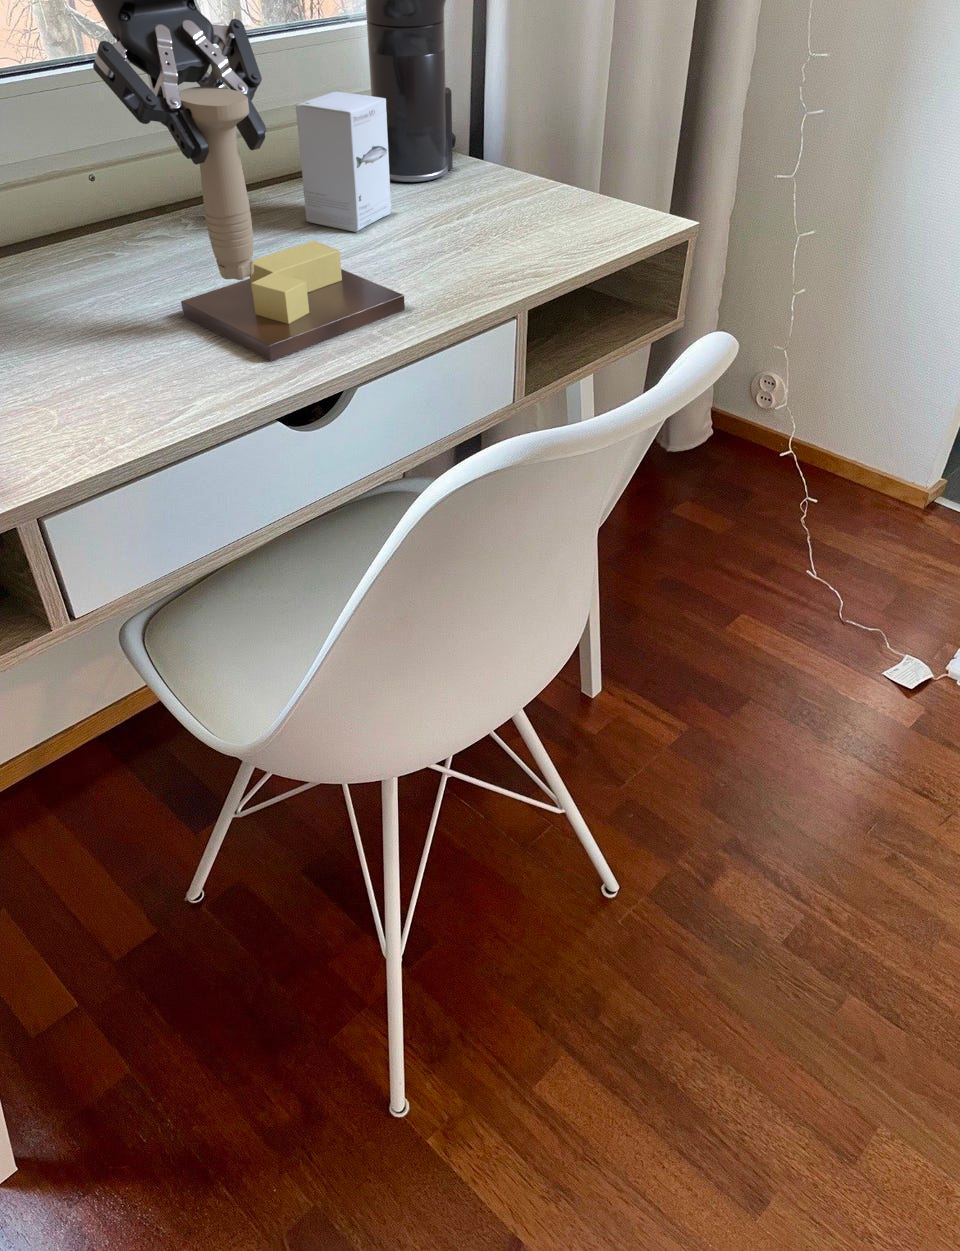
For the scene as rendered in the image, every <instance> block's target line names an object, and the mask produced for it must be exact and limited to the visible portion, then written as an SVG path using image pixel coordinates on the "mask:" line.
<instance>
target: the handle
mask: <svg viewBox="0 0 960 1251" xmlns="http://www.w3.org/2000/svg"><path fill="white" fill-rule="evenodd" d="M227 88H228V87H227ZM227 88H221V87H208V86H194V87H193V86H192V87H188V88H184V89H181V90H179V94H180V98H181V109H186V108H187V110H188V112H189V113H190V115H191V117H192V119H193V120H194V122H195V124H196V125H197V127H198V129H199V131H200V132H201V134H202V136H203V138H204V139H205V141H206V143H207V144H208V147H209V153H208V155H207V158H206V160H205V162H204V163H200V164H199V170H200V171H199V172H200V180H201V191H202V200H203V209H204V217H205V221H206V222H205V224H206V227H207V232H208V238H209V241H210V246H211V248H212V252H213V256H214V258H215V260H216V265H217V269H218V271H219V274H220V276H221V278H223V279H224V280H237V281H244V280H245V279H246V278H250V276H252V275H253V273H254V262H252V260H253V259H252V258H253V255H254V233H253V224H252V223H253V221H252V213H251V209H250V208H251V206H250V205H251V204H250V201H249V196H248V190H247V185H246V181H245V180H246V179H245V176H244V170H243V165H242V159H241V153H240V148H239V143H238V136H237V127H236V124H237V123H238V122H240V121H241V120H243V119H244V118H245V117H246V116H247V115H248V114H249V105H248V98H247V97H246V96H245V95H244V94H243V93H241V92H239V91H235V90H231V89H230V88H228V89H227Z"/></svg>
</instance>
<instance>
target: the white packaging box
mask: <svg viewBox="0 0 960 1251" xmlns="http://www.w3.org/2000/svg"><path fill="white" fill-rule="evenodd" d="M295 115H296V124H297V134H298V135H297V136H298V146H299V155H300V166H301V175H302V186H303V196H304V207H305V208H304V209H305V217H306V222H308V223H311V224H316V225H320V226H325V227H330V228H334V229H340V230H344V231H349V232H355V233H358V232H359V231H360V230H362V229H364V228H366V227H367V226H369V225H371V224H373V223H374V222H377V221H378V220H380V219H383V218H385V217H387V216H389V215H390V214H392V203H391V202H392V201H391V200H392V199H391V180H390V176H389V155H388V134H387V113H386V99H385V98H380V97H373V96H371V95H365V94H357V93H350V92H341V91H332V92H329V93H326V94H324V95H320V96H317V97H315V98H312V99H308V100H306V101H303V102H301V103H297V104H296V105H295Z"/></svg>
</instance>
